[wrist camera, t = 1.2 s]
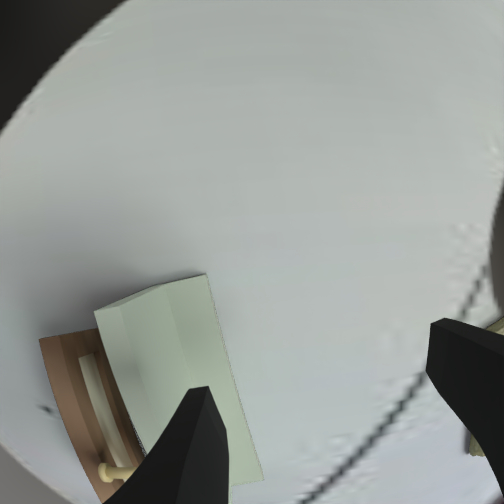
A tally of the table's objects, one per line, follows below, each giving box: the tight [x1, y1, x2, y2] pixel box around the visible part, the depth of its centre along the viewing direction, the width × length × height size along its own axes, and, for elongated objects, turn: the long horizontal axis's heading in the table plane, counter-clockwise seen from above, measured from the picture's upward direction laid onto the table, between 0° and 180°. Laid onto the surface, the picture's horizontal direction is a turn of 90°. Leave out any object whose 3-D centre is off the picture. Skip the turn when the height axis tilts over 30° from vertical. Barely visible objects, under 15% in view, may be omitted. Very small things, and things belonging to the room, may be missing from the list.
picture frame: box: [39, 328, 145, 504], centre depth 15 cm, size 16×2×6 cm, turn 13°
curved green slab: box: [94, 274, 264, 504], centre depth 16 cm, size 18×8×10 cm, turn 13°
